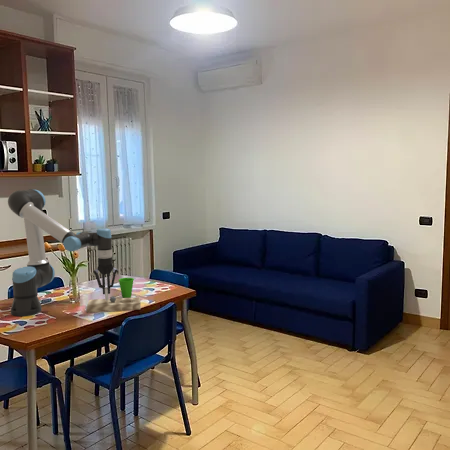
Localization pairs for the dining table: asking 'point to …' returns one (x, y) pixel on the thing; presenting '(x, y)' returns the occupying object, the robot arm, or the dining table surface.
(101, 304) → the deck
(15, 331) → the dining table surface
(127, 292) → the cup
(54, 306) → the dining table surface
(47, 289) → the dining table surface
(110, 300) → the ball
